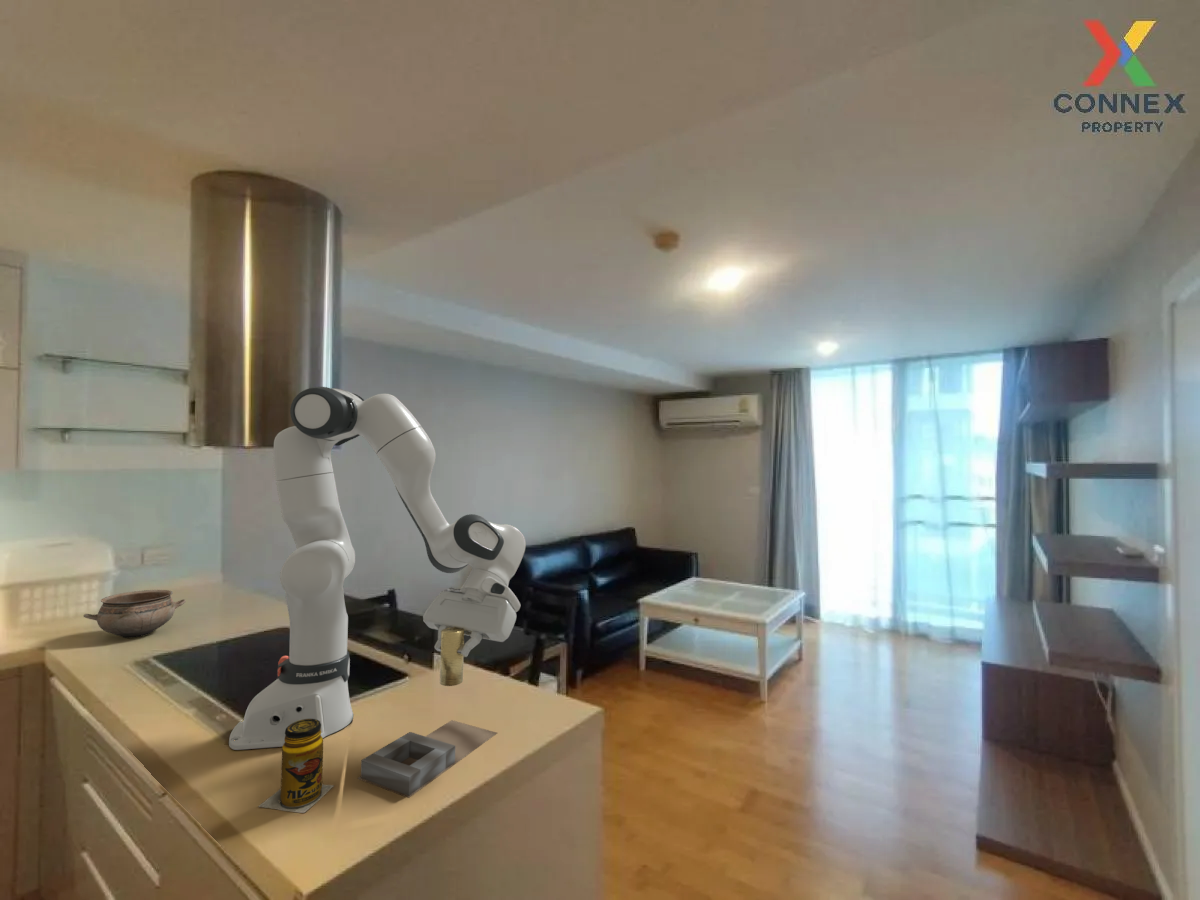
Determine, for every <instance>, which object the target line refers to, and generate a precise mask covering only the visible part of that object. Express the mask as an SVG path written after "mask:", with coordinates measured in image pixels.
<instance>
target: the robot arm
mask: <svg viewBox="0 0 1200 900" xmlns="http://www.w3.org/2000/svg"><path fill="white" fill-rule="evenodd" d="M289 411H290V418H291V421H292V423H293V425H294V426H289V427H287V428H285V429H283V430H281V431H279V432H278V433H277V434H276V435H275V437H274V440H273V452H272V453H273V456H272V457H273V458H272V459H273V471H274V478H275V484H276V490H277V495H278V501H279V506H280V512H281V517H282V520H283V521H284V523H285V524H286V526H287V528H288V529H289V532H290V533H291V537H292V538H293V541H294V545H295V550H293V552H292V553H290V554H289V556H288V557H287V558H286V560H285V561H284V563H283V565H282V567H281V569H280V572H279V582H280V585H281V588H282V589H283V590H284V592H285V593H284V594H285V595H284V596H285V602H286V606H287V612H288V617H289V618H288V619H289V646H288V647H289V652H288V653H289V655H283V656H281V657H280V658H279V661H278V662H277V663H278V664H277V670H276V671H277V672H276V673H277V674H276V675H277V678H276V680H275V679H274V681H273V682H271V683H270V684H269V685H267V687H264V688H263V689H262V690H261V691H260V692H259V693H257V694H256V695H255V696H254V697H253V698H252V700H251V701H250V702H249V704H248V706H247V709H246V710H245V714H244V717H243V719H244V721H243V722H241V721H242V720H240V721H239V722H238V723H237V724H236V725H235V726H234V727H233V729H232V731H231V733H230V734H229V738H228V739H229V740H228V745H229V748H230V749H232V750H235V751H240V750H251V749H252V750H253V749H255V750H256V749H266V748H267V749H269V748H278V747H279V748H280V747H283V745H284V743H285V740H284V739H285V730H286V728H287V727H288V726H289V725H290V724H292V723H294V722H297V721H299V720H303V719H316V720H319V721H320V723H321V736H322V738H323V739H324V738H325V737H328V736H330V735H331V734H334V733H337V732H339V731H341V730H342V729H344V728H346V727H347V726H348V725H350V723H351V722H352V721H353V719H354V715H355V714H354V712H353V711H354V710H353V708H352V705H351V700H350V693H349V683H348V680H349V678H350V667H351V665H350V663H351V662H350V661H351V659H350V652H349V651H348V639H349V638H348V632H349V631H348V630H349V629H348V628H349V616H348V612H347V608H346V603H345V602H346V601H345V596H344V595H345V593H344V583H345V579H346V578H348V576H349V575H350V574H351V573H352V572H353V569H354V567H355V563H356V551H355V548H354V546H353V543H352V541H351V537H350V534H349V531H348V527H347V523H346V522H345V519H344V515H343V512H342V510H341V506H340V505H341V504H340V500H339V494H338V489H337V483H336V478H335V473H334V467H333V463H332V449H333V447H334V446H340V445H341V446H342V445H343V444H345V443H348V442H349V441H351V440H354V439H356V438H358V437H359V436H361V437H362V438H364V439H365V441H367V442H368V444H369V445H370V447H371V448H372V449H373V451H374V452H375V454H376V455H377V458H379V460H380V461H381V463H382V464H383V467H385V469H386V471H387V473H388V474H389V476H390V479H391V480H392V482H393V485H394V487H395V489H396V491H397V494H398V495H399V498H400V500H401V502H402V503H403V505H404V506H405V508H406V510H407V512H408V514H409V516H410V517H411V519H412V521H413V522H414V524H415V526H416V528H417V530H418V531H419V534H420V535H421V536H422V539H423V542H424V544H425V549H426V554H427V557H428V558H427V559H428V560H429V562H430V563H431V565H432V566H433V567H434V568H435V569H436V570H438V571H439V572H442V573H446V574H455V573H457V572H460V571H462V570H463V569H465V568H466V567H467V566H468V565H469V566H470V568H471V571H469V574H468V575H467V577H466V579H465V581H464V583H463V584H462V586H461V587H460V588H455V587H447V588H446V589H444V590H441V591H440V592H439V594H438V595H437V596H436V597H435V598H434V599H433V601H431V603H430V605H429V606H427V609H426V610H425V612H424V613H423V614H422V620H423V622H424V623H425V625H426V626H427V627H428V628H429V629H432V630H437V640H436V642H435V644H434V646H433V647H434V649H435V650H436V651H437V652H441V631H442V630H443V629H445V628H450V627H455V628H461V629H464V636H470V638H469V639H468V640H466V642H464V644H461V645H460V648H459V649H458V651H457V653H458V654H459V655H460V656H464V658H467V657H468V655H469V654H470V652H471V650H473V649H475V647H477V646H478V645H479V644H480V643H481V641H482V639H484V640H489V641H494V642H499V643H504V642H505V641H506V640H507V639H509V637H510V636H511V633H512V631H513V629H514V626H515V623H516V621H517V612H519V611H520V609H521V602H520V601H519V599H518V597H517V595H515V593H514V592H513V591H512V589H511V588H510V587H509V584H510V580H512V578H513V577H514V576H515V574H516V572H517V570H518V568H519V567H520V565H521V562H522V559H523V557H524V555H525V552H526V547H527V546H526V545H527V543H526V542H527V541H526V538H525V536H524V534H523V533H522V532H521V531H520V530H519V529H518V528H517V527H515V526H513V525H512V524H507V523H504V524H499V523H495V522H491V521H489V520H487V519H486V518H484V517H482V516H480V515H478V514H471V513H470V514H465V515H463V516H460V518H458V519H456V520H455V521H454V522H452V523H451V524H450V523H449V522H448V521H447V518H445V516H444V514H443V512H442V511H441V509H440V507H439V505H438V503H437V502H436V500H435V498H434V496H433V495H432V490H431V477H432V472H433V469H434V467H435V463H436V456H437V455H436V450H435V447H434V444H433V443H432V440H431V439H430V437H429V435H428V434H427V432H426V430H424V428H423V426H422V425H421V423H420V422H419V421H418V420H417V418H416V417H415V416H414V415H413V413H412V412H411V411H410V410H409V409H408V408H407V407H406V406H405V404H403V402H401V401H400V400H399V399H398V397H396V396H395V395H392V394H390V393H378V394H374V395H372V396H370V397H368V398H366V399H364V398H362V397H361V396H360V395H358V394H355V393H353V392H350V391H348V390H344V389H341V388H335V387H333V388H331V387H329V386H328V387H327V386H314V387H309V388H306V389H304V390H301V391H300V392H299V393H298V394H297V395H295V397H294V399H293V400H292V403H291V405H290V410H289ZM234 740H235V741H234Z"/></svg>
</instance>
